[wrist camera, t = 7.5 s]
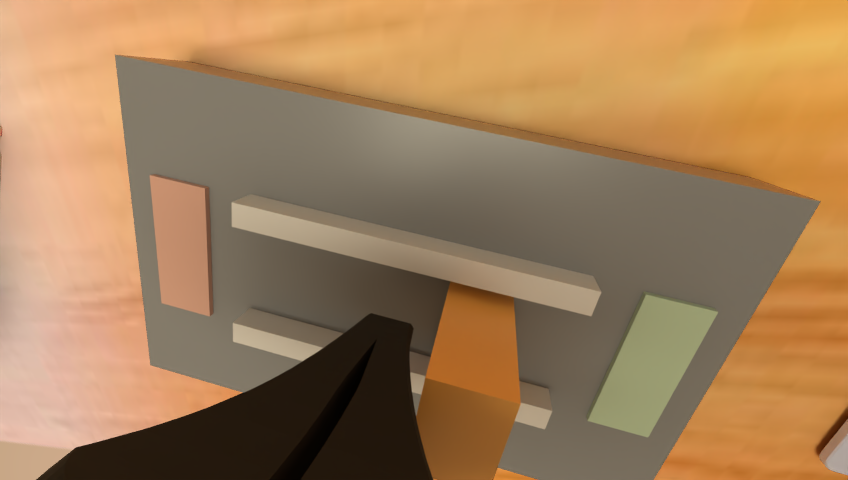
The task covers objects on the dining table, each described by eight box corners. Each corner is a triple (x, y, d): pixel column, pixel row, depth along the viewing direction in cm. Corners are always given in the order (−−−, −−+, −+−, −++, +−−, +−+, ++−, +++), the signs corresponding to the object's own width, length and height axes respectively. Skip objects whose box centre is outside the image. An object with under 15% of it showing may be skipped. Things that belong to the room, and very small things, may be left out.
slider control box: (750, 177, 13) (853, 213, 9) (614, 441, 17) (645, 536, 13) (188, 61, 15) (82, 51, 11) (200, 325, 19) (129, 381, 15)
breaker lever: (513, 296, 12) (520, 404, 8) (491, 367, 13) (487, 494, 9) (450, 280, 12) (425, 377, 8) (433, 351, 13) (404, 469, 9)
